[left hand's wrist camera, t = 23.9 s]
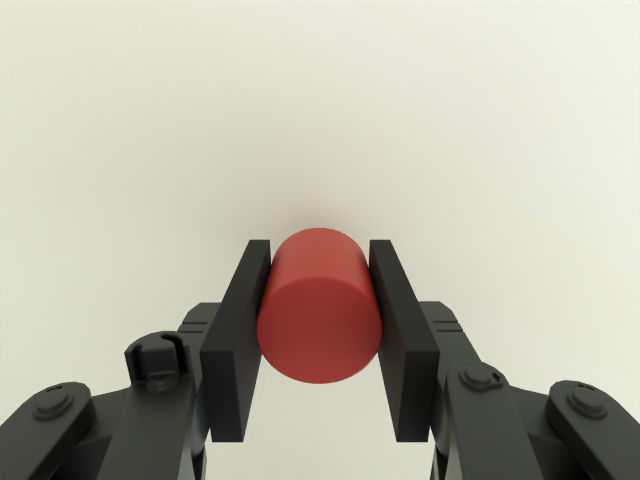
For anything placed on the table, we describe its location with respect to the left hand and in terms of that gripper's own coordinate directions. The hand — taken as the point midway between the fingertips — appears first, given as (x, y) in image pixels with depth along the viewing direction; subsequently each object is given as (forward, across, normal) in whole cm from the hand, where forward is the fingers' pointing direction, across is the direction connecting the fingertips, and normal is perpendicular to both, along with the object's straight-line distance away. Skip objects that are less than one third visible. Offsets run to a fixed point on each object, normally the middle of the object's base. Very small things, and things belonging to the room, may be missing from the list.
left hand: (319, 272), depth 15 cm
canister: (0, 0, 0) cm, 0 cm away
